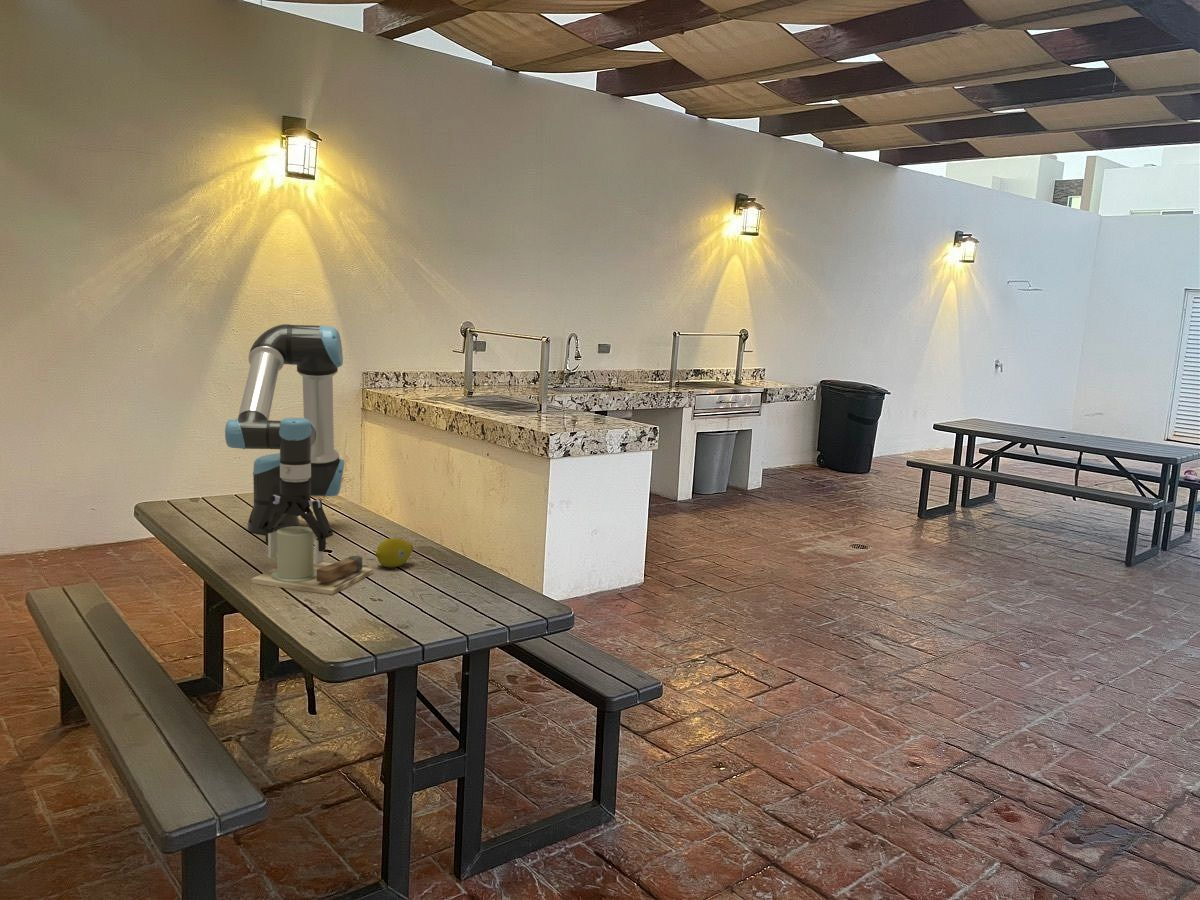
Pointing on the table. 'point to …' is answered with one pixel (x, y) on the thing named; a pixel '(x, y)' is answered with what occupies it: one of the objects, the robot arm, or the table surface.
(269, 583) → the board
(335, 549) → the table surface
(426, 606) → the table surface
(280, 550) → the can
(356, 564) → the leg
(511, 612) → the table surface
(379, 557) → the lemon
